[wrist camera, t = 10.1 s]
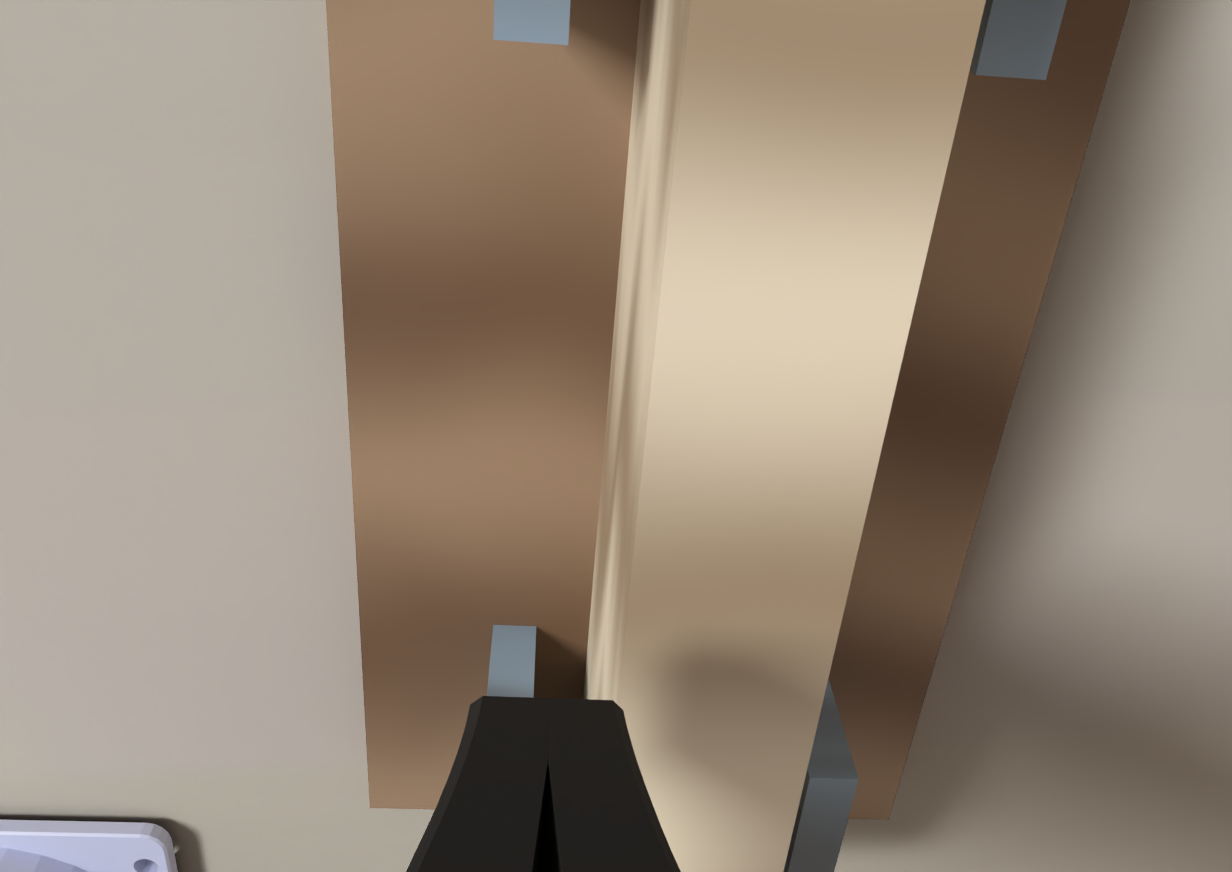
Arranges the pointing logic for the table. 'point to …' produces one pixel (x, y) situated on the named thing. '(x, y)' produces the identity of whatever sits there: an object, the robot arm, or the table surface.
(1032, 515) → the table surface
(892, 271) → the slat
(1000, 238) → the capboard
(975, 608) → the table surface
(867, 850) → the table surface
